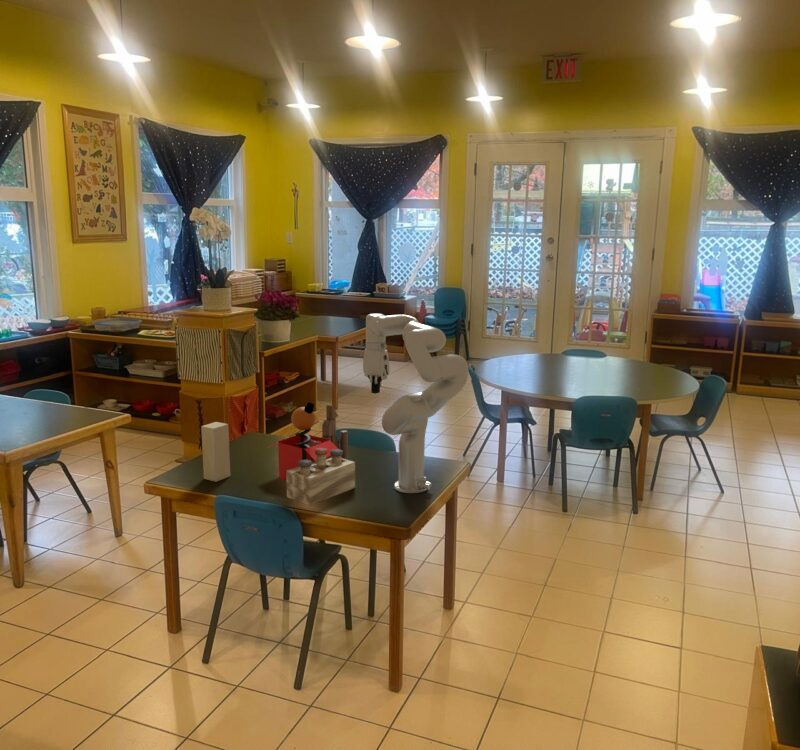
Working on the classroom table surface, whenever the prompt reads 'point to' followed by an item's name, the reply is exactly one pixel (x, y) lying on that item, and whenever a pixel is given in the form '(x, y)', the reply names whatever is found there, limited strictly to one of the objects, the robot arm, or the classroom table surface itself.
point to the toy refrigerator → (215, 451)
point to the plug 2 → (336, 456)
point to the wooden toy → (334, 431)
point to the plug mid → (321, 458)
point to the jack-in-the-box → (300, 442)
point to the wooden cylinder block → (320, 481)
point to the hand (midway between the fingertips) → (375, 392)
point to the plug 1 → (305, 467)
